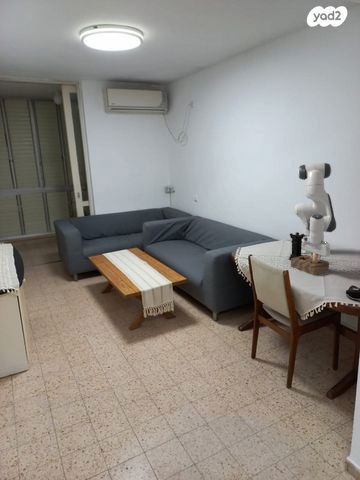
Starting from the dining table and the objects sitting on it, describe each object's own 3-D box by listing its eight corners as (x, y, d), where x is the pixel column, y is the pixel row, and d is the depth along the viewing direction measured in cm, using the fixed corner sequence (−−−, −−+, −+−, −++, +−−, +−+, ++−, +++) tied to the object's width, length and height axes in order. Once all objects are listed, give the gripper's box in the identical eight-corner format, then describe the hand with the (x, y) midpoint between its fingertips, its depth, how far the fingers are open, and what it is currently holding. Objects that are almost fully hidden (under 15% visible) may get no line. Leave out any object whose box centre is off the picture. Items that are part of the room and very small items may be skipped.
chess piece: (296, 257, 250) (297, 232, 244) (304, 260, 242) (305, 234, 237) (288, 259, 247) (288, 233, 242) (295, 262, 240) (296, 236, 234)
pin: (311, 266, 222) (311, 252, 220) (315, 265, 224) (315, 251, 221) (315, 267, 219) (315, 253, 217) (319, 266, 221) (319, 252, 218)
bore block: (290, 266, 232) (291, 258, 231) (305, 262, 238) (305, 254, 237) (313, 275, 215) (313, 266, 213) (328, 270, 221) (329, 262, 219)
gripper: (333, 242, 209) (331, 262, 212) (308, 235, 226) (307, 254, 230) (326, 243, 206) (324, 264, 210) (301, 237, 224) (300, 256, 228)
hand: (315, 259), depth 220 cm, fingers closed on pin, 3 cm apart
